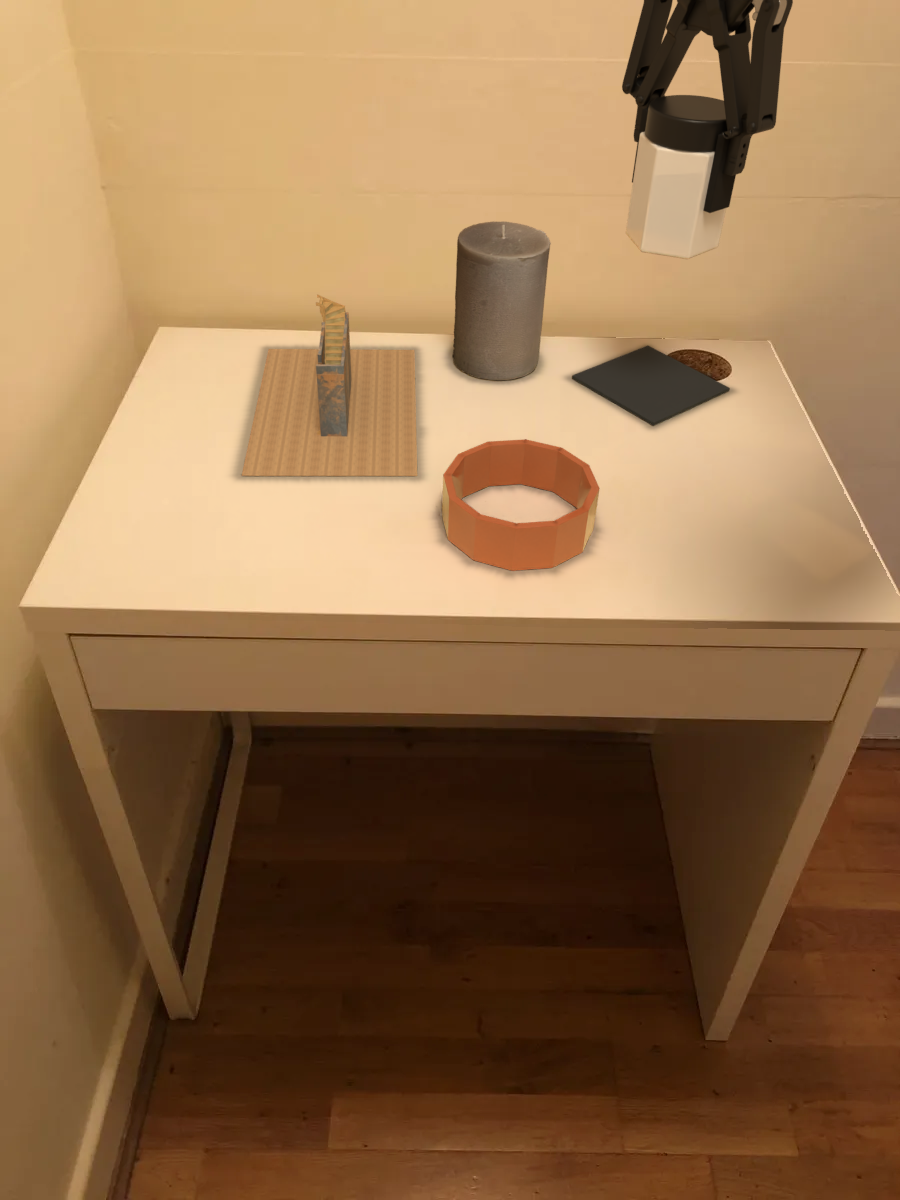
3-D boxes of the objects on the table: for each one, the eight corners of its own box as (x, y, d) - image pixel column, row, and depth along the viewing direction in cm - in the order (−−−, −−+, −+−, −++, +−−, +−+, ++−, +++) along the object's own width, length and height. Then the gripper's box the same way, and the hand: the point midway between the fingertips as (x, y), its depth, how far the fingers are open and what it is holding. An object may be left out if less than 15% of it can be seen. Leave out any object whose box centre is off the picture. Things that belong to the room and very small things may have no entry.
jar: (722, 233, 96) (751, 101, 88) (712, 264, 91) (741, 126, 83) (633, 219, 98) (653, 89, 90) (616, 249, 93) (636, 113, 85)
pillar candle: (435, 354, 110) (437, 220, 100) (502, 332, 115) (511, 201, 105) (489, 390, 104) (497, 252, 94) (557, 365, 109) (572, 231, 99)
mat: (729, 391, 106) (730, 387, 105) (653, 426, 100) (653, 422, 100) (647, 348, 112) (647, 345, 112) (571, 378, 107) (572, 375, 106)
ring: (621, 532, 86) (628, 490, 83) (510, 590, 80) (514, 547, 77) (523, 465, 94) (527, 424, 91) (414, 513, 88) (414, 471, 85)
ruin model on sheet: (268, 349, 110) (259, 264, 103) (414, 350, 111) (414, 266, 104) (241, 475, 91) (228, 382, 85) (417, 476, 92) (417, 383, 86)
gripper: (602, -116, 81) (572, 170, 96) (815, -82, 69) (742, 239, 84) (664, -120, 84) (625, 156, 99) (877, -89, 72) (796, 220, 87)
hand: (679, 194), depth 92 cm, fingers closed on jar, 8 cm apart
